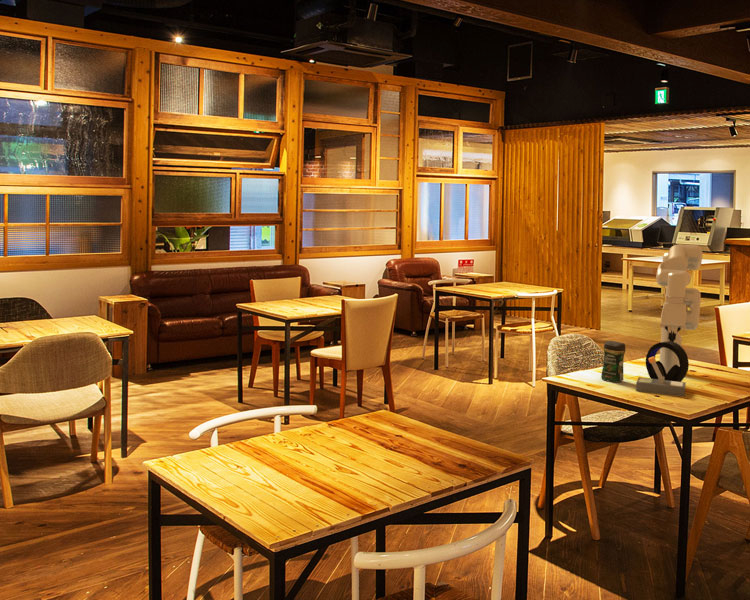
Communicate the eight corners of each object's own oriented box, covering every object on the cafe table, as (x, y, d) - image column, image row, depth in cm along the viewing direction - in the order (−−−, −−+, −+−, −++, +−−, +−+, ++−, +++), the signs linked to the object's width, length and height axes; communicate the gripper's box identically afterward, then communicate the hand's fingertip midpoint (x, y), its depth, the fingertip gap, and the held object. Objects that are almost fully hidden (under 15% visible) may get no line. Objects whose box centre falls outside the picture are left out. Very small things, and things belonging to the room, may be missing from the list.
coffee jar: (598, 379, 363) (601, 340, 361) (607, 377, 369) (610, 339, 366) (616, 383, 356) (619, 344, 354) (625, 381, 362) (628, 342, 359)
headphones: (687, 388, 352) (691, 345, 349) (679, 390, 348) (683, 346, 345) (651, 380, 366) (654, 338, 363) (643, 381, 362) (646, 339, 359)
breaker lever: (660, 381, 346) (648, 358, 347) (665, 379, 345) (653, 356, 346) (659, 383, 343) (648, 359, 344) (664, 381, 342) (653, 357, 343)
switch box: (638, 385, 354) (639, 372, 353) (685, 391, 346) (686, 377, 345) (635, 390, 344) (636, 377, 343) (684, 396, 336) (685, 382, 335)
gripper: (693, 300, 339) (690, 341, 342) (657, 297, 345) (654, 338, 347) (693, 303, 332) (689, 344, 335) (656, 300, 338) (653, 341, 341)
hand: (671, 341), depth 341 cm, fingers closed
